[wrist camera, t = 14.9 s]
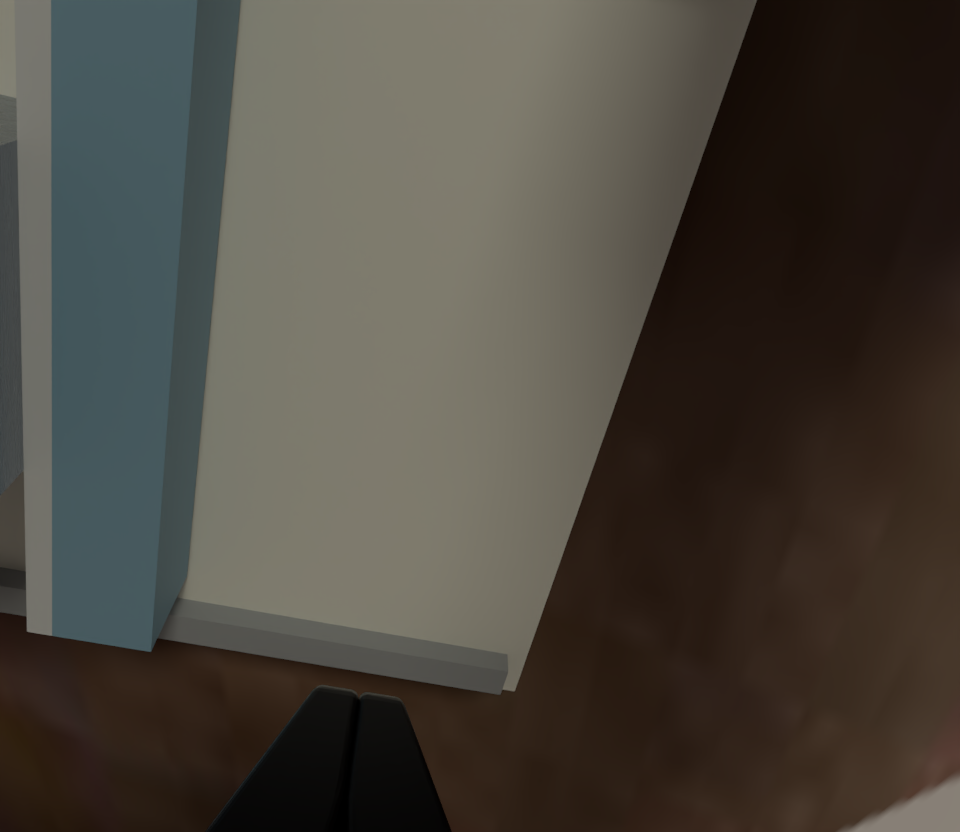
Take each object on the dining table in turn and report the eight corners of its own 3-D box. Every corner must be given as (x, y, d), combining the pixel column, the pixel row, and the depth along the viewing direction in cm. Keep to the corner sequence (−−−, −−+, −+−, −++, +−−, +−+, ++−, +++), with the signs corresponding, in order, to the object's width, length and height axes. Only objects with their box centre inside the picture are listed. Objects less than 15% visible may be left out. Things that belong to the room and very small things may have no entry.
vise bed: (772, -97, 14) (856, -117, 11) (512, 663, 22) (519, 772, 19) (-442, -451, 12) (-754, -598, 9) (-243, 534, 20) (-372, 634, 17)
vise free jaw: (250, -104, 13) (206, -121, 11) (187, 575, 20) (150, 651, 17) (89, -148, 13) (10, -173, 11) (77, 556, 19) (27, 631, 17)
